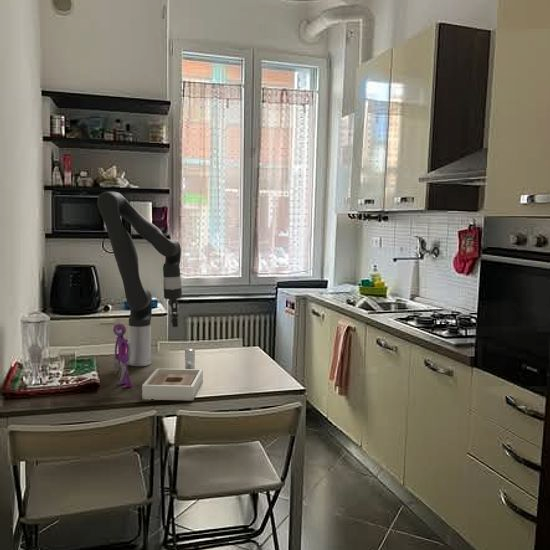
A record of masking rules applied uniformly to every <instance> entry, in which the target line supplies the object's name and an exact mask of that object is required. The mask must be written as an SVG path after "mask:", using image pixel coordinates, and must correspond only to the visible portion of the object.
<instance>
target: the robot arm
mask: <svg viewBox="0 0 550 550" xmlns="http://www.w3.org/2000/svg"><path fill="white" fill-rule="evenodd" d="M96 201H97V203H96V204H97V207H98V208H97V209H98V210H99V213H100V215H101V218H102V221H103V223H104V225H105V228H106V231H107V235H108V239H109V241H110V245H111V248H112V252H113V256H114V259H115V262H116V264H117V268H118V272H119V274H120V276H121V280H122V284H123V288H124V289H123V290H124V295H125V300H126V305H128V307H129V309H130V313H129V317H128V342H127V343H128V346H129V352H128V357H129V361H128V362H127V366H132V367H145V366H149V365H151V364H152V342H151V341H152V337H151V336H152V334H151V333H152V332H151V329H152V326H151V324H152V322H151V320H152V314H153V306H152V305H153V298H152V293H151V291H150V290H149V289H148V288H146V287H144V286H143V284H142V281H141V278H140V273H139V272H140V271H139V257H138V253H137V248H136V246H135V242H134V240H133V237H132V236H131V235H130V233H129V232H128V230H127V229H126V227H125V225H124V224H123V223H124V222H123V221H122V218H123V219H124V220H125V221H127V222H128V223H129V224H130V225H131V226H132V228H133V229H134V230H135V232H136V233H137V234H138V235H139V236H141V238H143V239H144V240H146V241H147V242H148V243H149V244H151V246H152V247H154V249H155V250H156V251H157V252H158V253H159V254H160V255H162V256H163V257H164V258H165V261H164V264H163V265H162V274H163V280H162V281H163V282H162V283H163V298H164V299H165V300H169V302H168V308H169V309H168V310H169V313H170V320H171V321H170V322H171V323H172V324H171V325H172V328H177V327H179V324H178V323H179V322H178V317H179V315H178V314H179V301H177V299H182V297H183V291H182V289H183V288H182V278H181V268H180V266H181V264H180V263H181V258H182V257H181V256H182V248H181V244H180V242H179V241H178V240H176V239H172V238H171V239H169V238H167V237H166V236H165V235H164V233H163V231H162V230H161V229H160V228H159V227H158V226H156V225H155V224H154V223H152V222H151V221H150V220H149V219H148V218H146V217H144V216H143V215H142V214H141V213H140V212H139V211H138V210H137V209H136V208H135V207H134V206H133V205H132V204H131V203H130V202H129V201H128V200H127V199H126V197H124V196H123V195H122V194H121V193H120V192H117V191H103V192H101V193H100V194H99V195H98V197H97V200H96Z"/></svg>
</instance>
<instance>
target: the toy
mask: <svg viewBox="0 0 550 550" xmlns="http://www.w3.org/2000/svg"><path fill="white" fill-rule="evenodd" d="M112 332H113V333H114V335H115V336H117V337H116V341H115V344H114V359H113V360H112V362H113V363H112V364H113V369H114V374H115V375H116V376H115V377H116V378H117V379H118V380H119V382H118V383H117V384H116V386H122V387H121V389H128V388H127V387H129V388H132V387H133V384H132V382H131V379H130V375H129V373H130V371H129V370H128V361H129V357H128V352H129V346H128V343H129V339H127V338H124V335H125V334H126V333H127V328H126V326H125V324H123V323H116V324H113V330H112ZM120 362H121V363H122V365H121V363H120ZM117 376H118V377H117ZM121 384H123V385H121Z"/></svg>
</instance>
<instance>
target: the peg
mask: <svg viewBox="0 0 550 550" xmlns="http://www.w3.org/2000/svg"><path fill="white" fill-rule="evenodd" d="M195 359H196V351H195V348H185V349H184V369H196V360H195Z"/></svg>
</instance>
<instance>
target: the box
mask: <svg viewBox="0 0 550 550" xmlns="http://www.w3.org/2000/svg"><path fill="white" fill-rule="evenodd" d="M159 374H186V375H196V378H195V379H194V381H193V383H192V384H191V386H180V385H151V384H152V383H153V381H154V380H155V379H156V378H157V377H158V375H159ZM203 382H204V369H201V368H200V369H199V368H197V369H196V368H195V369H185V368H160V367H159V368H156V369H155V370H154V371H153V372H152V373H151V374H150V376H149V377H148V378H147V379H146V380H145V381H144V383H143V384H142V386H141V388H142V389H141V390H142V391H141V392H142V393H141V394H142V395H141V398H142V400H151V399H154V400H153V401H155V400H157V401H158V400H159V401H161V400H162V401H194V399H195V397H196V395H197V394H198V391H199V390H200V388H201V386H202V384H203Z"/></svg>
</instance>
